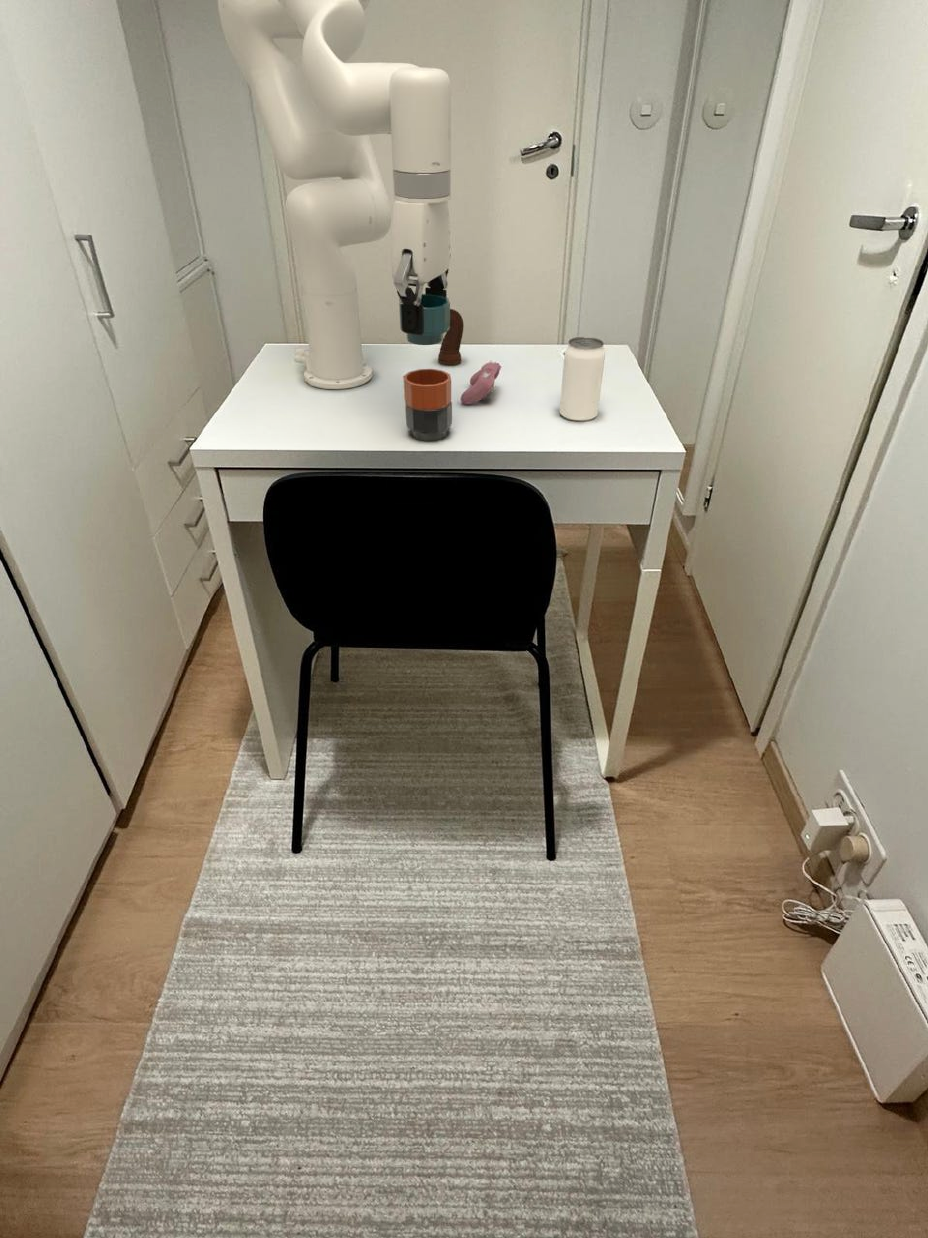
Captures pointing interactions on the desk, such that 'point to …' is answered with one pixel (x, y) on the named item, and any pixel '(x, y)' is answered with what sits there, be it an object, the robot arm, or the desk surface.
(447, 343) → the chess piece
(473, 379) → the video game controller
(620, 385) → the desk surface
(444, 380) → the middle bowl
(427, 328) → the top bowl
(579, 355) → the can
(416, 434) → the bottom bowl
